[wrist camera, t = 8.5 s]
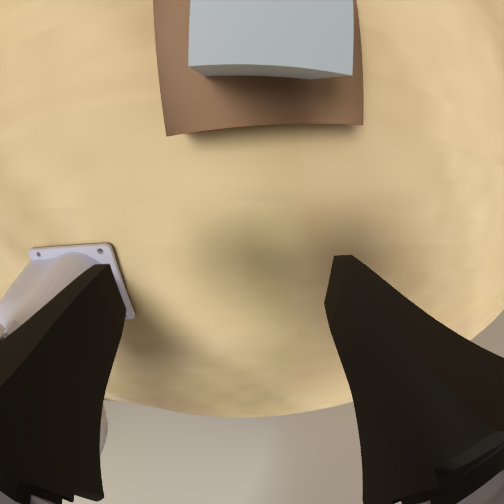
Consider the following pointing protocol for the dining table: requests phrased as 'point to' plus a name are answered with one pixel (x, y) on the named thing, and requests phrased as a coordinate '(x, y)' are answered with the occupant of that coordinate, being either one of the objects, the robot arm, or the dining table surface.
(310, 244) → the dining table surface
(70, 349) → the robot arm
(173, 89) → the walnut block
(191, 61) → the gray cube
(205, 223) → the dining table surface
